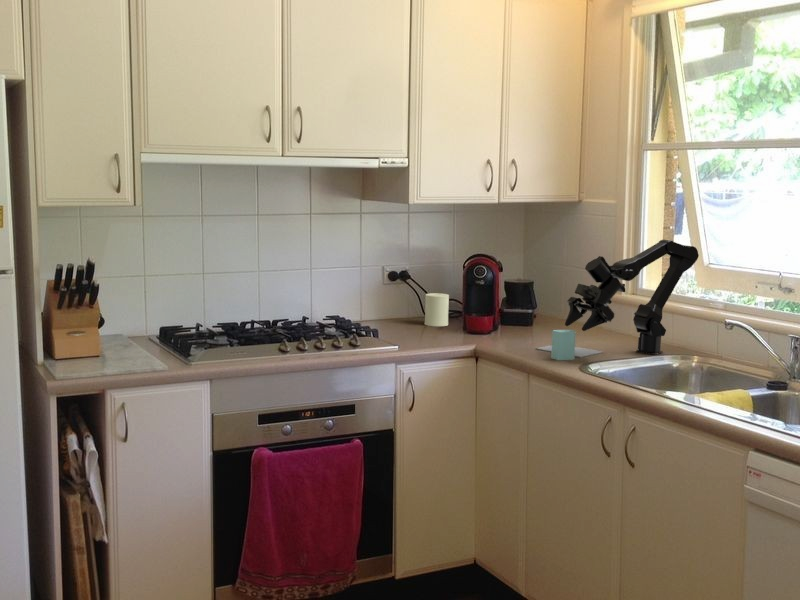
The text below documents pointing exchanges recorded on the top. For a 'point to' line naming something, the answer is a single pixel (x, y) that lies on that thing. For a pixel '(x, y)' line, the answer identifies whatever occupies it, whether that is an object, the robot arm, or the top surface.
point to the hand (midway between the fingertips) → (574, 327)
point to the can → (436, 309)
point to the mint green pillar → (563, 344)
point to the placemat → (578, 351)
